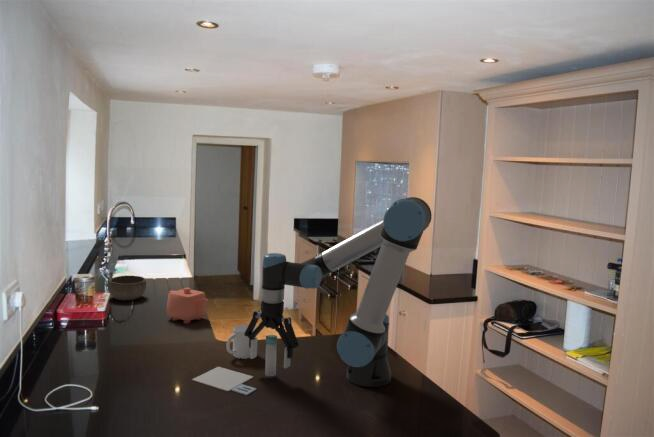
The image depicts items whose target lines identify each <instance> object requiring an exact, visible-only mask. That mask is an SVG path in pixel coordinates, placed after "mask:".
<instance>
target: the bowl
mask: <svg viewBox="0 0 654 437" xmlns="http://www.w3.org/2000/svg"><path fill="white" fill-rule="evenodd" d="M146 288H147V281H146V278H145V277H143V276H140V275H120V276H115V277H112V278H110V279H109V281H108V290H109V293H110V294H111V296H112V297H113V298H114V299H115V300H118V301H123V302H124V301H133V300H137V299H140V298H141V297H142V296H143V295H144V293H145V292H146Z"/></svg>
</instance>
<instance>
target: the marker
mask: <svg viewBox="0 0 654 437" xmlns="http://www.w3.org/2000/svg"><path fill="white" fill-rule="evenodd" d="M277 346H278V336H277V335H276V334H268V335H265V364H264V365H265V366H264V369H265V370H264V375H265V378H266V379H269V380H272V379H275V378H276V377H275V376H276V375H277V349H278V348H277Z"/></svg>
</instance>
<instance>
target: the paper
mask: <svg viewBox="0 0 654 437" xmlns="http://www.w3.org/2000/svg"><path fill="white" fill-rule="evenodd" d="M253 378H254V376H253V375H250V374H246V373H242V372H238V371H236V370H235V371H234V370H231V369H229V368H224V367H221V366H216V367H215V368H212V369H210V370H208V371H207V372H204V373H202V374H201V375H198V376H195V377H193V378H192V379H191V381H193V382H196V383H198V384H202V385H206V386H209V387H212V388H216V389H218V390H222V391H224V392H230V391H231V390H232V389H233V388H235V387H237V386H239V385H240V384H244V383H246V382H248V381H250V380H251V379H253Z"/></svg>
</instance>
